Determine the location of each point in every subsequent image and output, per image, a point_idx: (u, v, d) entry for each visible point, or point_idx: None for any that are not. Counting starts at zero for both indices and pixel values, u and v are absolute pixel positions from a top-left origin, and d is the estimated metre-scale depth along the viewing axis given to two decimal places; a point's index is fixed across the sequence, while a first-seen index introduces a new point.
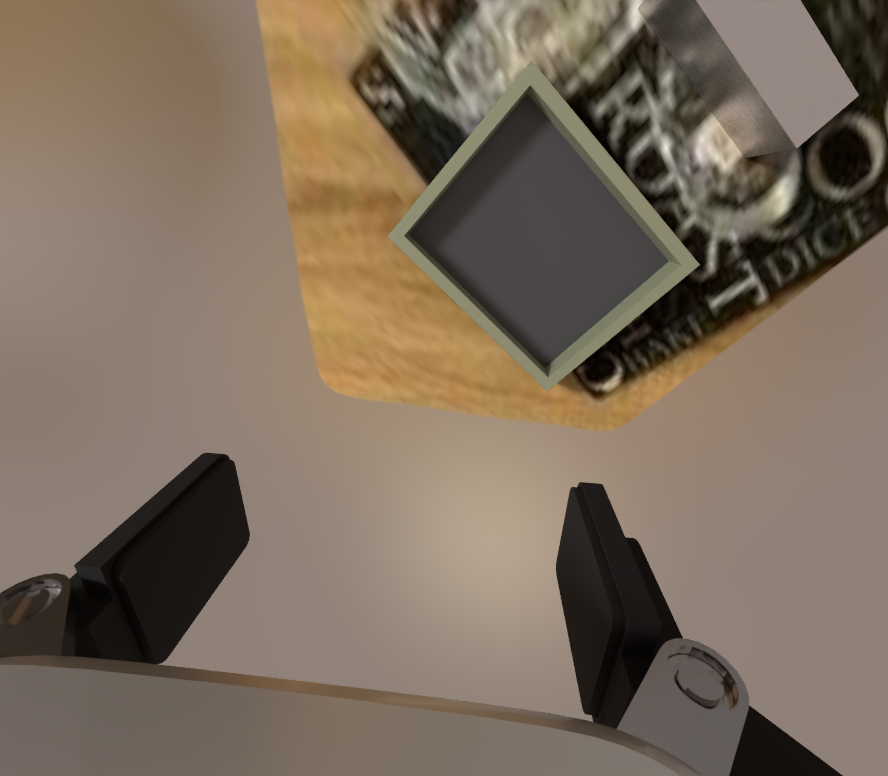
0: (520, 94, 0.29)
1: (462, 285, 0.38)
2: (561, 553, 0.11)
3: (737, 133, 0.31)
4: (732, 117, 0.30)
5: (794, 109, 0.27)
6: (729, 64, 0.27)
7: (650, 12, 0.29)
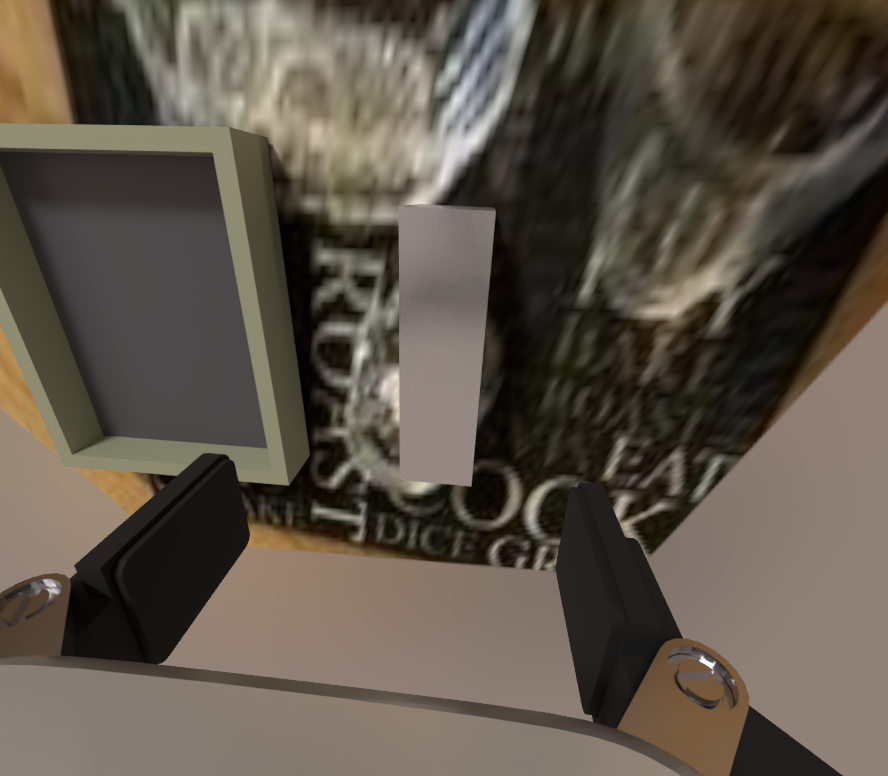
0: (194, 149, 0.19)
1: (43, 275, 0.25)
2: (561, 553, 0.11)
3: None
4: None
5: (418, 449, 0.22)
6: None
7: None
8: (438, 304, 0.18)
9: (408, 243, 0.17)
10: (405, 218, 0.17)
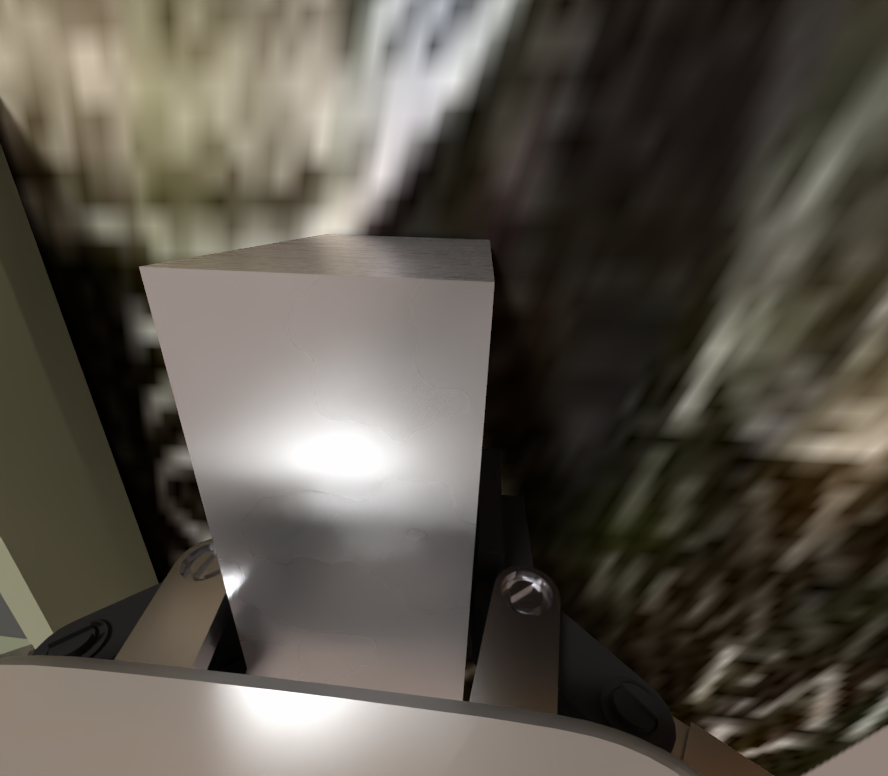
0: None
1: None
2: None
3: None
4: None
5: None
6: None
7: None
8: (326, 546, 0.06)
9: (200, 387, 0.05)
10: (172, 307, 0.05)
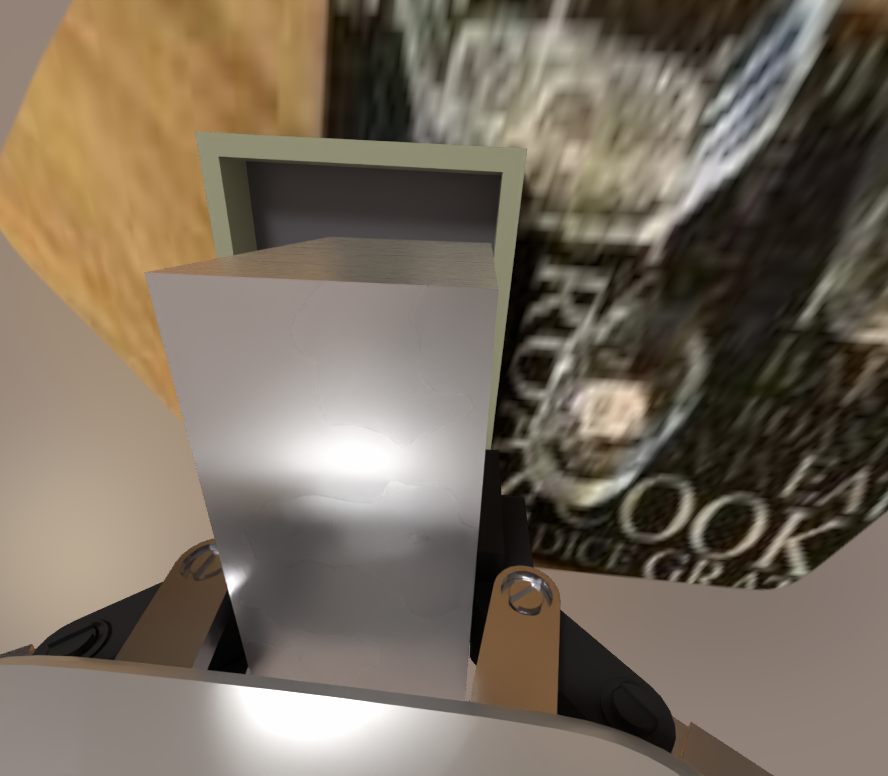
0: (484, 168, 0.19)
1: None
2: None
3: None
4: None
5: None
6: None
7: None
8: (329, 549, 0.06)
9: (205, 391, 0.05)
10: (177, 312, 0.05)
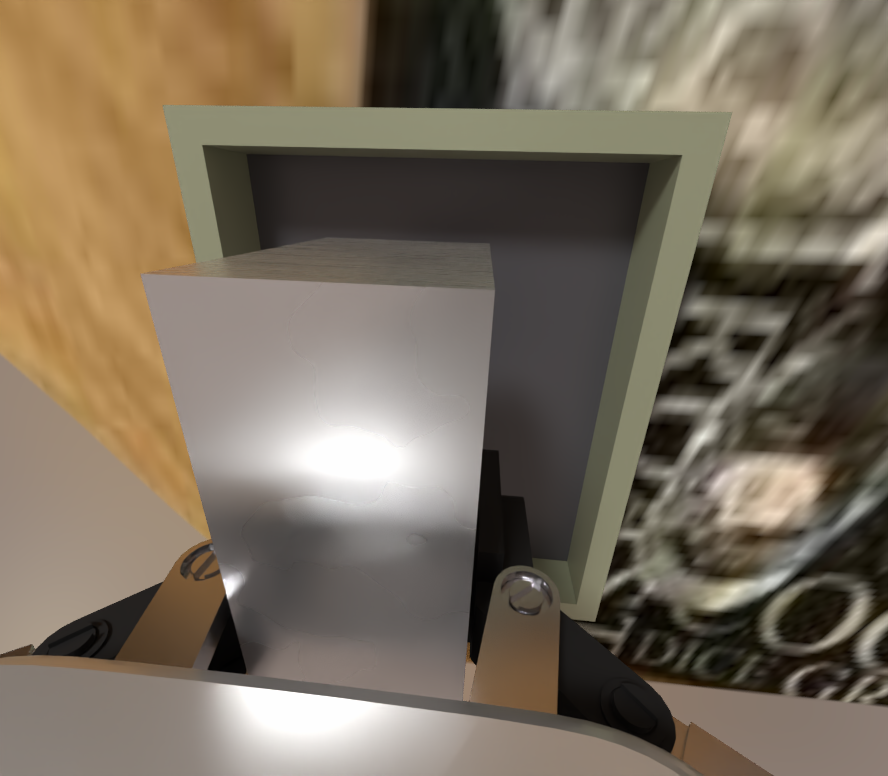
0: (650, 150, 0.11)
1: None
2: None
3: None
4: None
5: None
6: None
7: None
8: (327, 550, 0.06)
9: (201, 392, 0.05)
10: (173, 314, 0.05)
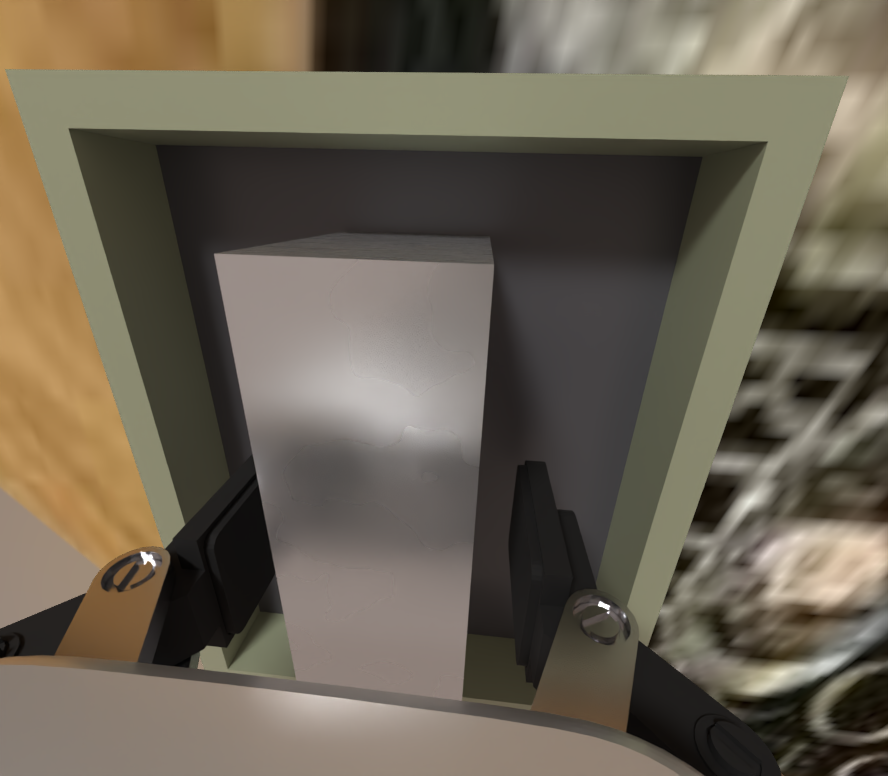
0: (720, 134, 0.08)
1: (209, 374, 0.14)
2: (511, 527, 0.12)
3: None
4: None
5: None
6: None
7: None
8: (354, 489, 0.07)
9: (257, 351, 0.06)
10: (238, 286, 0.06)
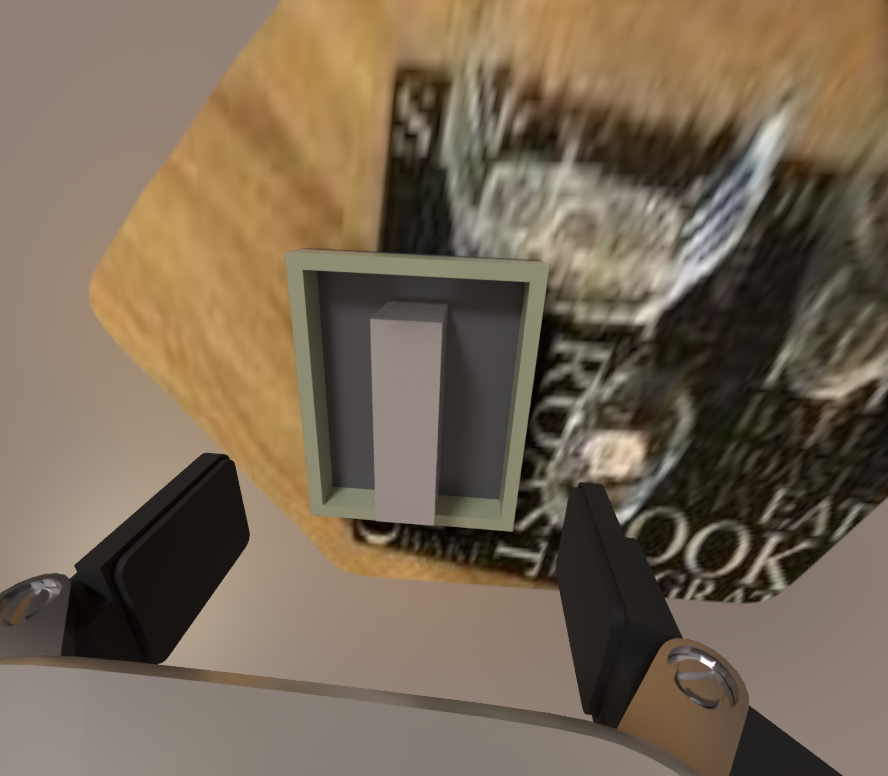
0: (515, 279, 0.25)
1: (324, 358, 0.30)
2: (561, 553, 0.11)
3: None
4: None
5: (390, 496, 0.27)
6: None
7: None
8: (402, 387, 0.24)
9: (377, 344, 0.23)
10: (375, 327, 0.23)
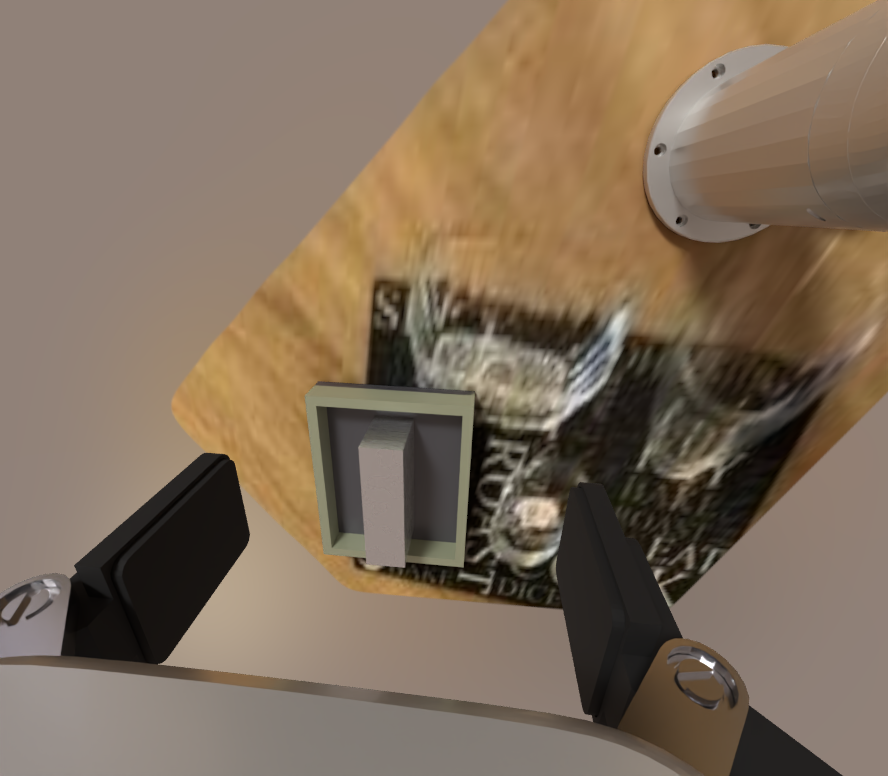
0: (453, 414, 0.38)
1: (331, 450, 0.44)
2: (561, 553, 0.11)
3: None
4: None
5: (375, 549, 0.41)
6: None
7: None
8: (380, 485, 0.38)
9: (363, 461, 0.37)
10: (361, 451, 0.36)
